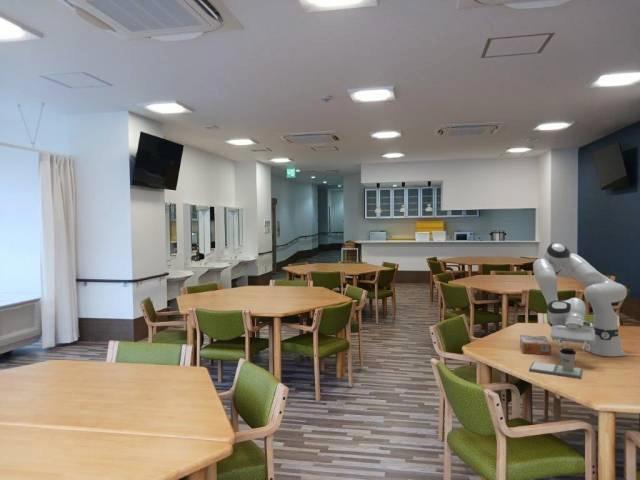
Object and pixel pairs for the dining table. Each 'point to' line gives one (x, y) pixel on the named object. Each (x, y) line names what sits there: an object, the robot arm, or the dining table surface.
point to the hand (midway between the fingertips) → (571, 348)
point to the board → (555, 370)
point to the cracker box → (535, 345)
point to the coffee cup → (568, 359)
